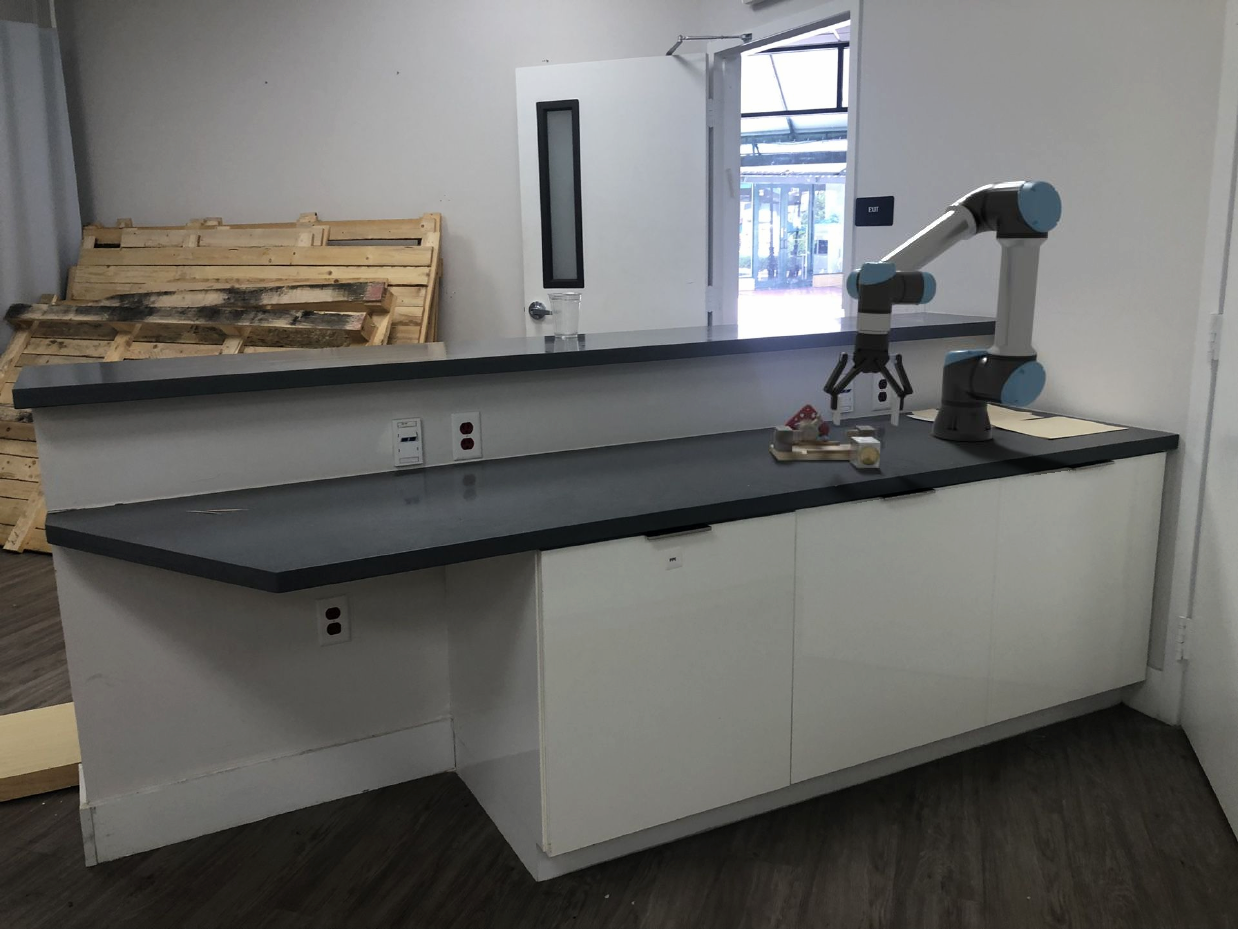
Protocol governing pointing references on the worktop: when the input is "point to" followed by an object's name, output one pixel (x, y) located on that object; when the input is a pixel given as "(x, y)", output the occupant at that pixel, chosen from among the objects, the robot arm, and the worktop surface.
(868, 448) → the coupler
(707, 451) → the worktop surface
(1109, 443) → the worktop surface
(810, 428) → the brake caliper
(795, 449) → the shaft bench
